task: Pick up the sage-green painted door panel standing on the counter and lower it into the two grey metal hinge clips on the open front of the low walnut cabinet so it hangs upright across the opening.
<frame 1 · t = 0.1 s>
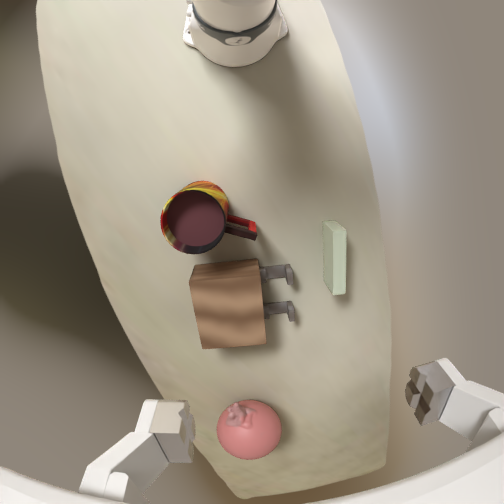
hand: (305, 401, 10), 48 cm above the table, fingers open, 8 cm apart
mug: (213, 205, 56), on the table
cabinet: (260, 291, 61), on the table
balloon: (246, 401, 72), on the table
door: (329, 250, 59), on the table
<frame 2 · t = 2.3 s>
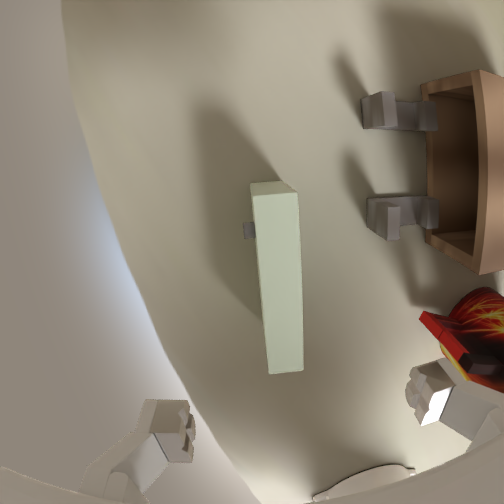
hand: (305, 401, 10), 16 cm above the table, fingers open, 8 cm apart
mug: (458, 328, 28), on the table
cabinet: (426, 163, 23), on the table
door: (271, 257, 25), on the table
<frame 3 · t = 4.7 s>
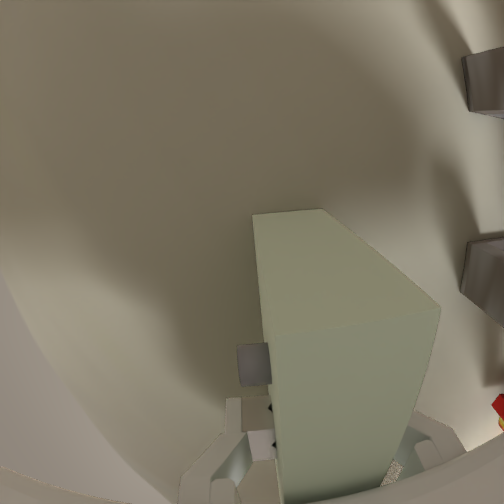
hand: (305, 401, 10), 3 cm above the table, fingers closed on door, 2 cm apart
door: (294, 356, 12), on the table, touching gripper
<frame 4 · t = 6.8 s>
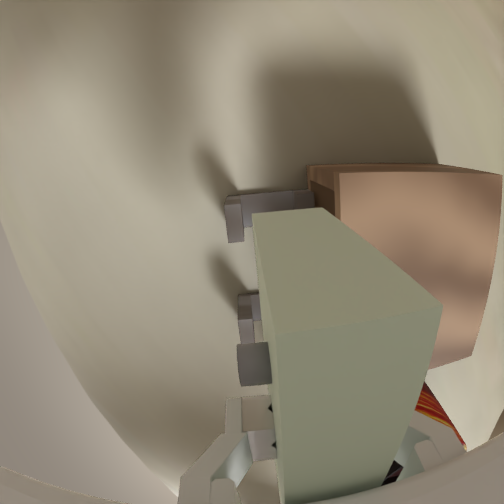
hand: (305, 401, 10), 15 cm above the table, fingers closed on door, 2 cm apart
mug: (364, 398, 30), on the table
cabinet: (310, 255, 24), on the table
door: (294, 355, 12), point 13 cm above the table, touching gripper
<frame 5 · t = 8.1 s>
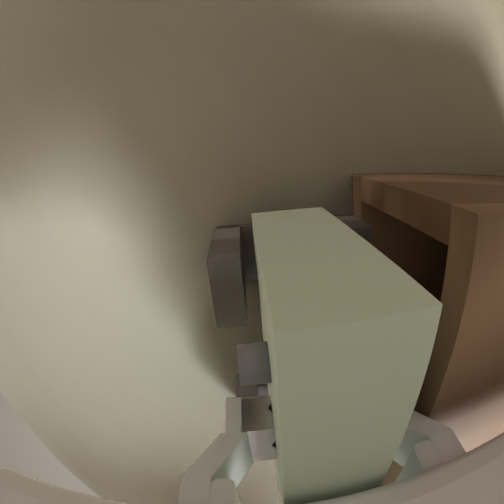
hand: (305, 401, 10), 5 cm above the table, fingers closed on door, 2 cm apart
cabinet: (350, 317, 15), on the table
door: (294, 355, 12), point 3 cm above the table, touching gripper
when the fingers open (5 cm above the table, at t = 9.0 s): door stays where it is, resting on cabinet.
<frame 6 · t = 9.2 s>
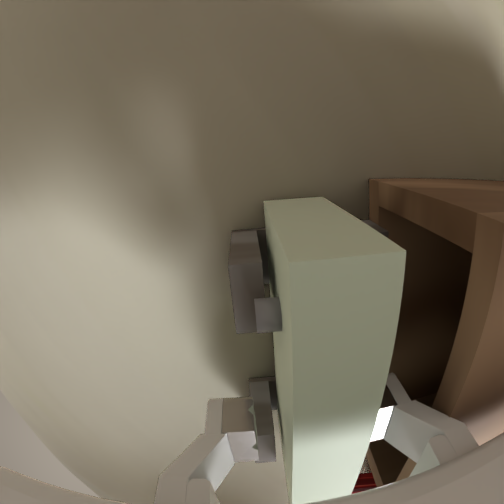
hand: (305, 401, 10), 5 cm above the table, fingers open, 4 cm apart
mug: (396, 466, 20), on the table
cabinet: (363, 321, 15), on the table
door: (298, 327, 14), resting on cabinet, touching gripper
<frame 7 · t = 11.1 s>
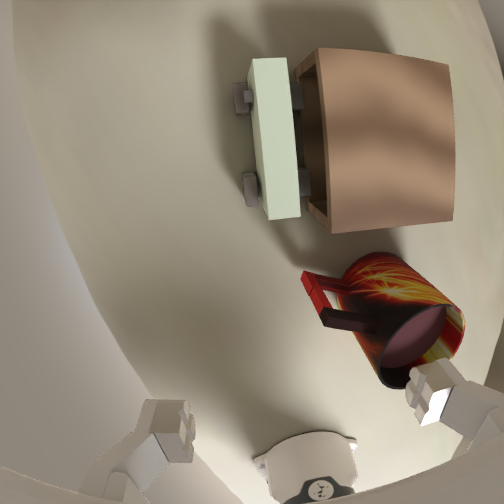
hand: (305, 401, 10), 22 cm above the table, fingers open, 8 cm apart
mug: (357, 292, 35), on the table
cabinet: (302, 138, 28), on the table
door: (266, 137, 27), resting on cabinet
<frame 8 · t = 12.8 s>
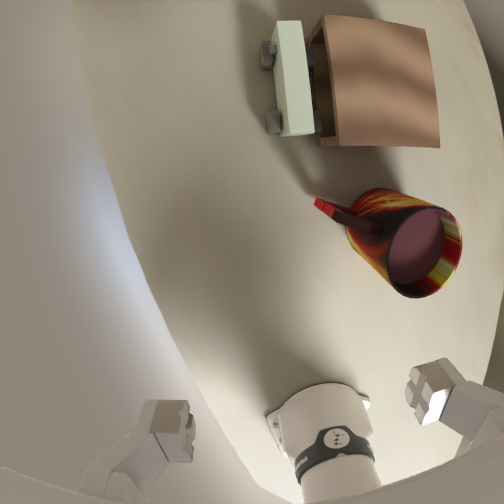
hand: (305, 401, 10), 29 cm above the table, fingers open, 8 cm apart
mug: (364, 225, 38), on the table
cabinet: (313, 90, 32), on the table
door: (285, 87, 32), resting on cabinet
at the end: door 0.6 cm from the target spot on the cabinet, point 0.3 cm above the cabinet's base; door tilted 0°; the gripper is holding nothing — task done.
